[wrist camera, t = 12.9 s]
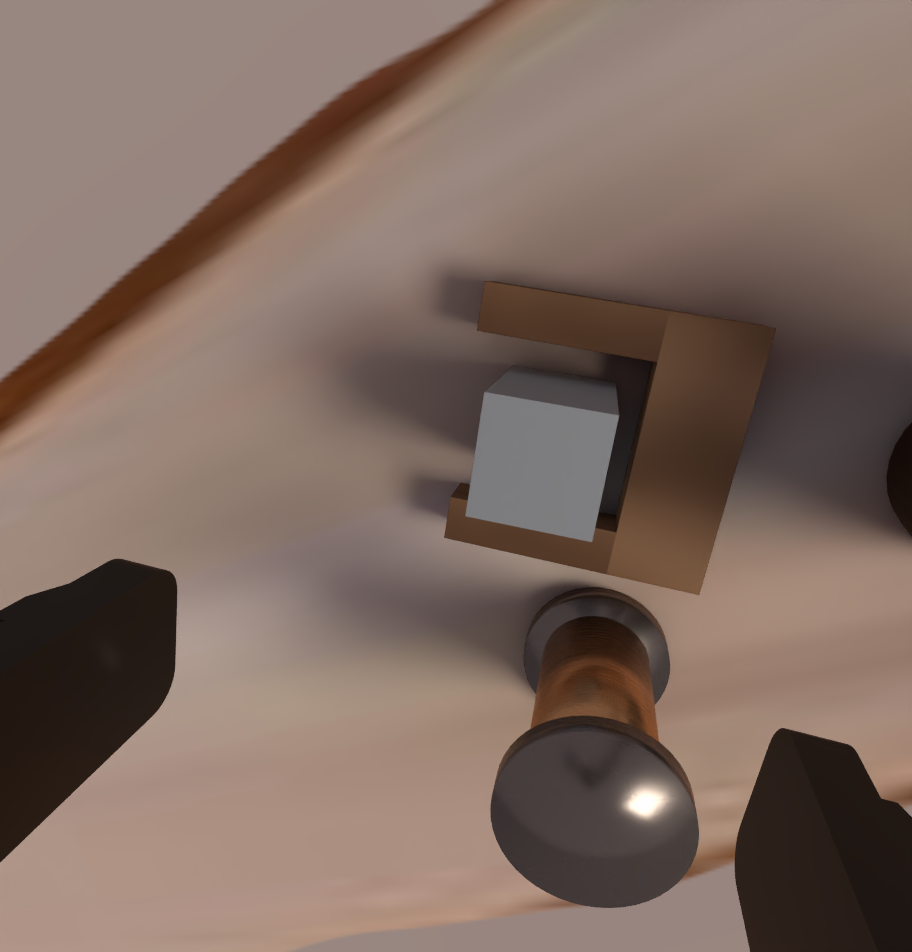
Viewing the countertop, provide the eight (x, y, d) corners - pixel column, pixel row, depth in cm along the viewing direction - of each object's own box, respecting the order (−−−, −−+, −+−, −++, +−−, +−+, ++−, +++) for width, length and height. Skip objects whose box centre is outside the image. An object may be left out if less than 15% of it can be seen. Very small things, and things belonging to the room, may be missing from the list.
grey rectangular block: (513, 365, 27) (484, 392, 20) (615, 382, 26) (619, 415, 20) (498, 461, 28) (465, 516, 21) (595, 479, 27) (592, 542, 21)
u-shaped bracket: (493, 281, 26) (484, 281, 24) (762, 325, 25) (776, 328, 23) (454, 521, 29) (444, 537, 27) (692, 573, 28) (699, 594, 26)
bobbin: (540, 573, 29) (509, 713, 20) (683, 606, 28) (723, 769, 19) (515, 693, 31) (476, 873, 21) (649, 727, 30) (670, 931, 20)
